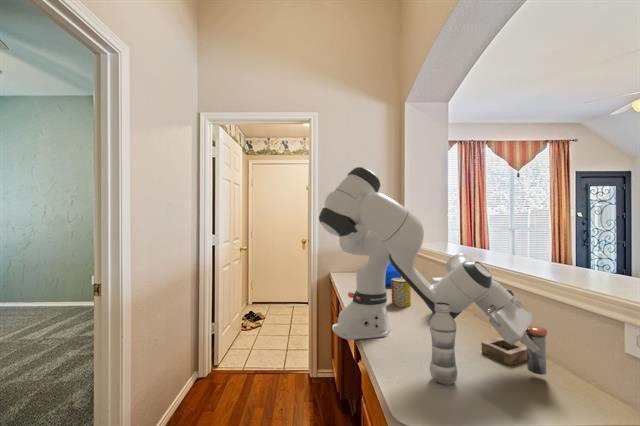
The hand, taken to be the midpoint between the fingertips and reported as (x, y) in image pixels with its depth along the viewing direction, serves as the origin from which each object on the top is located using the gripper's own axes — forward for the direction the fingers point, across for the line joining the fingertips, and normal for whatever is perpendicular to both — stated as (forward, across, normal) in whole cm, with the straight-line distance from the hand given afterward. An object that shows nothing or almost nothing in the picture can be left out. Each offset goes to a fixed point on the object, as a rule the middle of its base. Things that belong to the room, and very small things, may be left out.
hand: (539, 346), depth 76 cm
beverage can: (-35, +36, +48) cm, 69 cm away
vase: (-54, +68, +68) cm, 110 cm away
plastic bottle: (-7, -18, +18) cm, 27 cm away
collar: (-1, +9, +13) cm, 15 cm away
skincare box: (-21, +33, +33) cm, 51 cm away
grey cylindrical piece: (+4, 0, +5) cm, 6 cm away
